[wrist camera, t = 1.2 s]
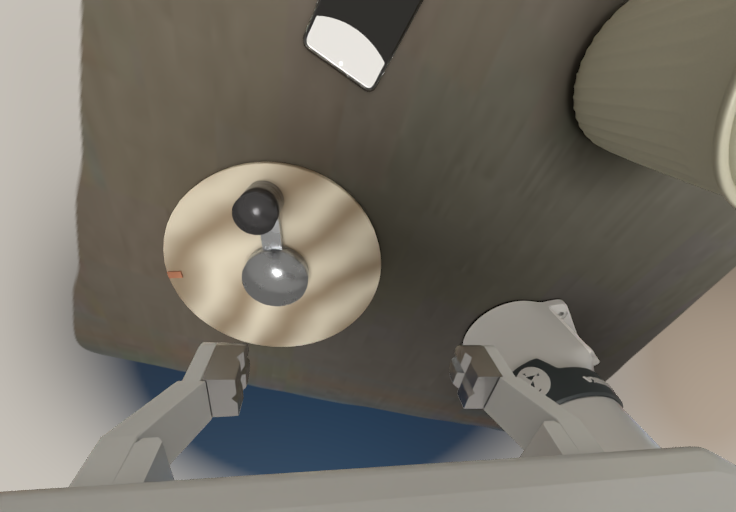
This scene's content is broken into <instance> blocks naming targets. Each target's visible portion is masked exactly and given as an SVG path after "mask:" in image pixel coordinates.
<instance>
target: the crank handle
mask: <svg viewBox="0 0 736 512" xmlns="http://www.w3.org/2000/svg"><path fill="white" fill-rule="evenodd" d="M283 205H284V196H283V193H282V191H281V190H280V189H279V187H277V186H276V185H275V184H273V183H271V182H269V181H263V180H262V181H256V182H254V183H252V184H251V185H250V186H249V187H248V188H247V189H246V190H245V191H244V193H243V194H242V195H241V196H240V197H239V198H238V199H237V200H236V201H235V203H234V205H233V207H232V217H233V220H234V222H235V224H236V225H237V226H238V227H239V228H240V229H241V230H242V231H244V232H246V233H248V234H252V235H260V236H261V242H262V248H260V249H258V250H256V251H255V252H254V253H252V255H251V256H250V257H249V259H248V261H247V263H246V265H245V267H244V269H243V271H242V283H243V286H244V289H245V290H246V292H247V293H248V294H249V295H250V296H251V297H252V298H253V299H255V300H256V301H258V302H260V303H262V304H265V305H269V306H285V305H289V304H292V303H294V302H296V301H297V300H299V299H300V298H301V297H302V296H303V294H304V293H305V291H306V289H307V285H308V278H309V269H308V265H307V263H306V261H305V260H304V258H303V257H302V256H301V255H300V254H299V253H298V252H296V251H295V250H293V249H291V248H289V247H286V246H284V245H283V237H282V229H281V221H280V212H281V210H282V208H283Z"/></svg>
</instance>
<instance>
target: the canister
mask: <svg viewBox="0 0 736 512" xmlns="http://www.w3.org/2000/svg"><path fill="white" fill-rule="evenodd" d="M573 100H574V106H573V109H574V110H575V113H576V115H575V118H576V120H577V121H578V123H579V127H580V129H581V130H583V132H584V134H585V136H586V137H587V138H589V139H590V140H591V141H592V142H593V143H594V144H596V145H597V146H599V147H602V148H603V149H605V150H607V151H609V152H611V153H614V154H616V155H618V156H621V157H623V158H625V159H628V160H630V161H632V162H635V163H637V164H640V165H642V166H645V167H648V168H650V169H653V170H655V171H658V172H661V173H663V174H666V175H669V176H671V177H674V178H677V179H679V180H682V181H684V182H687V183H689V184H692V185H695V186H697V187H700V188H702V189H705V190H708V191H711V192H713V193H716V194H719V195H722V196H723V197H724V198H725V199H726V201H727V202H728V203H729V204H730V205H731V206H732V207H734V208H735V209H736V0H629V1H628V2H627V3H626V4H625V5H623V6H622V7H621V8H619V9H618V10H617V11H616V12H615V13H614V14H613V16H612V17H611V18H610V19H609V20H608V21H607V22H606V23H605V24H604V25H603V26H602V28H601V30H600V31H599V33H598V34H597V35H595V37H594V38H593V41H592V43H591V45H590V46H589V47H588V48H587V50H586V54H585V56H584V58H583V60H582V61H581V63H580V68H579V71H578V73H577V74H576V82H575V85H574V95H573Z"/></svg>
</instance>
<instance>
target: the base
mask: <svg viewBox="0 0 736 512" xmlns="http://www.w3.org/2000/svg"><path fill="white" fill-rule="evenodd" d="M262 180H263V181H269V182H271V183H273V184H275V185H276V186H277V187H279V189H280V190H281V191H282V193H283V196H284V205H283V208H282V210H281V212H280V221H281V229H282V237H283V245H284V246H286V247H289V248H291V249H293V250H295V251H296V252H298V253H299V254H300V255H301V256H302V257H303V258H304V260H305V261H306V263H307V265H308V269H309V278H308V285H307V289H306V291H305V293H304V294H303V296H302V297H301V298H300V299H299V300H297V301H296V302H294V303H292V304H289V305H285V306H269V305H265V304H262V303H260V302H258V301H256V300H255V299H253V298H252V297H251V296H250V295H249V294H248V293H247V292H246V290H245V289H244V286H243V283H242V271H243V269H244V267H245V265H246V263H247V261H248V259H249V257H250V256H251V255H252V253H254V252H255V251H256V250H258V249H260V248H262V242H261V236H260V235H252V234H248V233H246V232H244V231H242V230H241V229H240V228H239V227H238V226H237V225H236V224H235V222H234V220H233V217H232V207H233V205H234V203H235V201H236V200H237V199H238V198H239V197H240V196H241V195H242V194H243V193H244V191H245V190H246V189H247V188H248V187H249V186H250V185H251V184H252V183H254V182H256V181H262ZM163 250H164V260H165V265H166V269H167V274H168V276H169V278H170V280H171V282H172V285H173V287H174V288H175V290H176V292H177V293H178V295H179V296H180V298H181V299H182V300H183V302H184V303H185V304H186V305H187V307H188V308H189V309H190V310H192V311H193V312H194V313H195V314H196V315H197V316H198V317H199V318H200V319H202V320H203V321H204V322H205V323H207V324H208V325H210V326H212V327H213V328H215V329H216V330H218V331H220V332H222V333H224V334H226V335H228V336H231V337H233V338H236V339H238V340H241V341H245V342H249V343H252V344H258V345H263V346H273V347H291V346H300V345H305V344H310V343H314V342H317V341H321V340H324V339H326V338H328V337H331V336H333V335H335V334H337V333H338V332H340V331H342V330H344V329H345V328H346V327H348V326H349V325H350V324H352V323H353V322H354V321H355V320H356V319H357V318H358V317H359V316H360V315H361V314H362V313H363V312H364V310H365V309H366V308H367V307H368V305H369V303H370V302H371V300H372V298H373V296H374V294H375V292H376V290H377V286H378V283H379V279H380V272H381V254H380V249H379V244H378V240H377V237H376V234H375V231H374V228H373V226H372V224H371V222H370V220H369V218H368V216H367V214H366V213H365V211H364V210H363V209H362V207H361V206H360V204H359V203H358V202H357V201H356V200H355V199H354V198H353V197H352V196H351V195H350V194H349V193H348V192H347V191H346V190H344V189H343V188H342V187H341V186H340V185H338V184H337V183H335V182H334V181H332V180H330V179H329V178H327V177H325V176H323V175H321V174H319V173H317V172H315V171H313V170H310V169H307V168H304V167H301V166H298V165H293V164H288V163H283V162H268V161H264V162H250V163H245V164H240V165H235V166H232V167H229V168H226V169H224V170H221V171H219V172H217V173H215V174H213V175H211V176H209V177H208V178H206V179H205V180H203V181H202V182H200V183H199V184H198V185H196V186H195V187H194V188H192V189H191V190H190V191H189V192H188V193H187V194H186V195H185V196H184V197H183V198H182V199H181V200H180V202H179V203H178V205H177V206H176V208H175V209H174V211H173V212H172V214H171V217H170V219H169V221H168V224H167V227H166V231H165V236H164V248H163Z"/></svg>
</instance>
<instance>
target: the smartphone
mask: <svg viewBox="0 0 736 512" xmlns="http://www.w3.org/2000/svg"><path fill="white" fill-rule="evenodd" d="M422 2H423V0H318V1H317V3H316V7H315V10H314V12H313V14H312V17H311V19H310V21H309V24H308V26H307V28H306V31H305V33H304V36H303V43H304V46H305V47H306V48H307V49H308V50H309V51H310V52H312V53H313V54H314V55H316V56H317V57H319V58H320V59H321V60H323V61H324V62H326V63H327V64H328V65H330V66H331V67H333V68H334V69H336V70H337V71H338V72H340V73H341V74H343V75H344V76H345V77H347V78H348V79H350V80H351V81H352V82H354V83H355V84H357V85H358V86H359V87H361V88H362V89H364V90H366V91H373V90H374V89H375V88H376V86H377V85H378V83H379V81H380V79H381V77H382V75H383V74H384V72H385V70H386V68H387V66H388V64H389V63H390V61H391V59H392V57H393V55H394V53H395V51H396V50H397V48H398V46H399V44H400V42H401V40H402V39H403V37H404V35H405V33H406V31H407V29H408V28H409V26H410V24H411V22H412V20H413V18H414V16H415V15H416V13H417V11H418V9H419V7H420V5H421V4H422Z"/></svg>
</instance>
